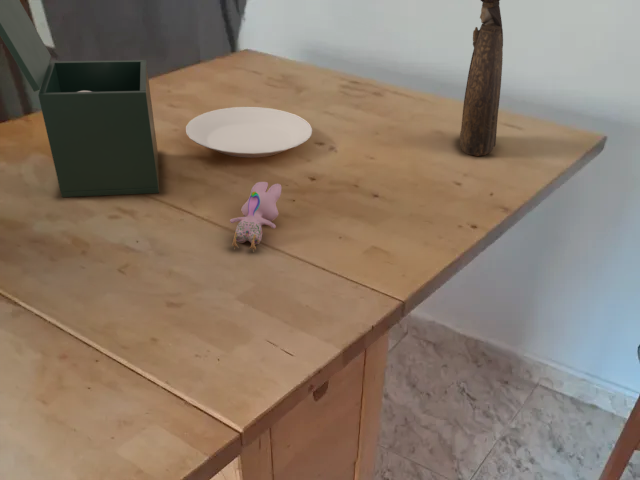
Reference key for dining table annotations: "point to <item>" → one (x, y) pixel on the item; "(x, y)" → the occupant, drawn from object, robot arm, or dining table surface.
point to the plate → (249, 131)
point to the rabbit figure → (257, 213)
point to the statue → (483, 84)
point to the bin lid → (23, 42)
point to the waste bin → (100, 127)
